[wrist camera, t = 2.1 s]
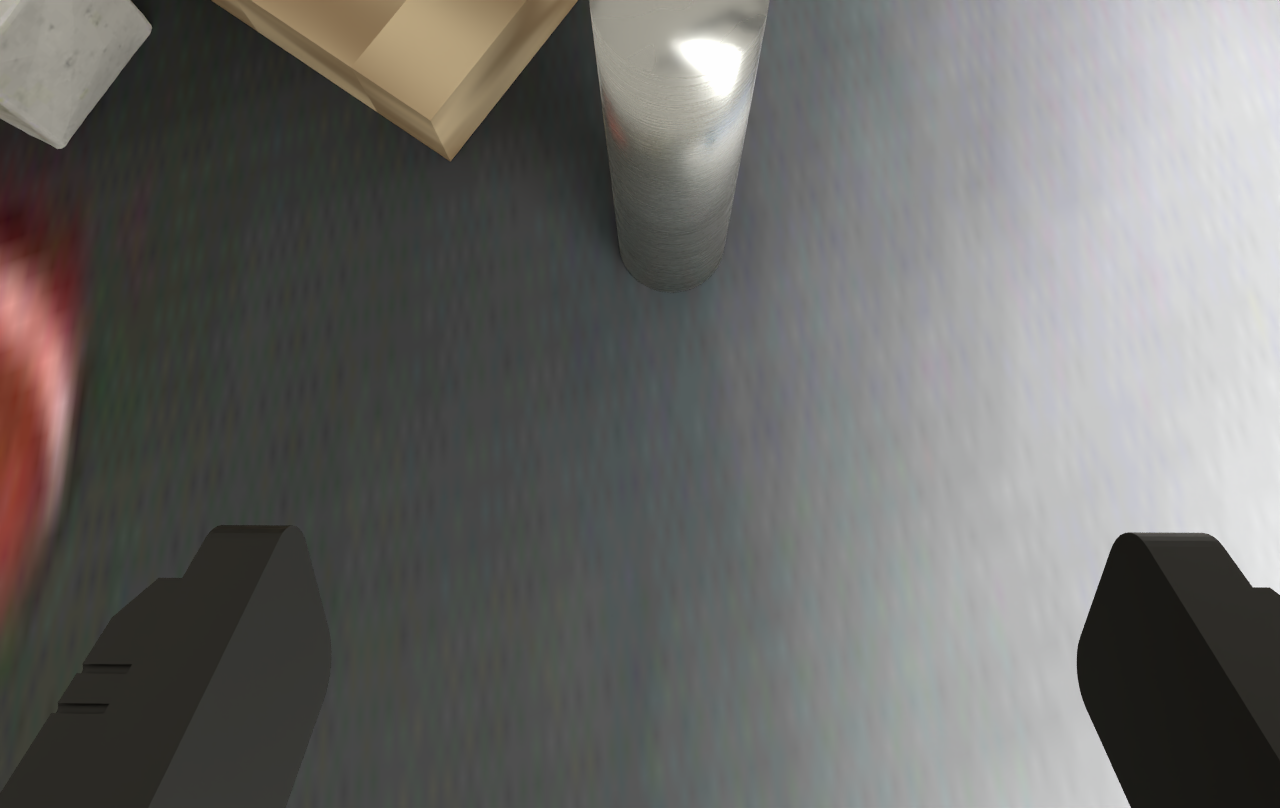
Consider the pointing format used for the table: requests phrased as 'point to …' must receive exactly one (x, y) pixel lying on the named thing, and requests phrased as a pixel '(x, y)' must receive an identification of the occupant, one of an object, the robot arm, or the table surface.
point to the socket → (413, 53)
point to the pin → (675, 127)
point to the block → (62, 60)
